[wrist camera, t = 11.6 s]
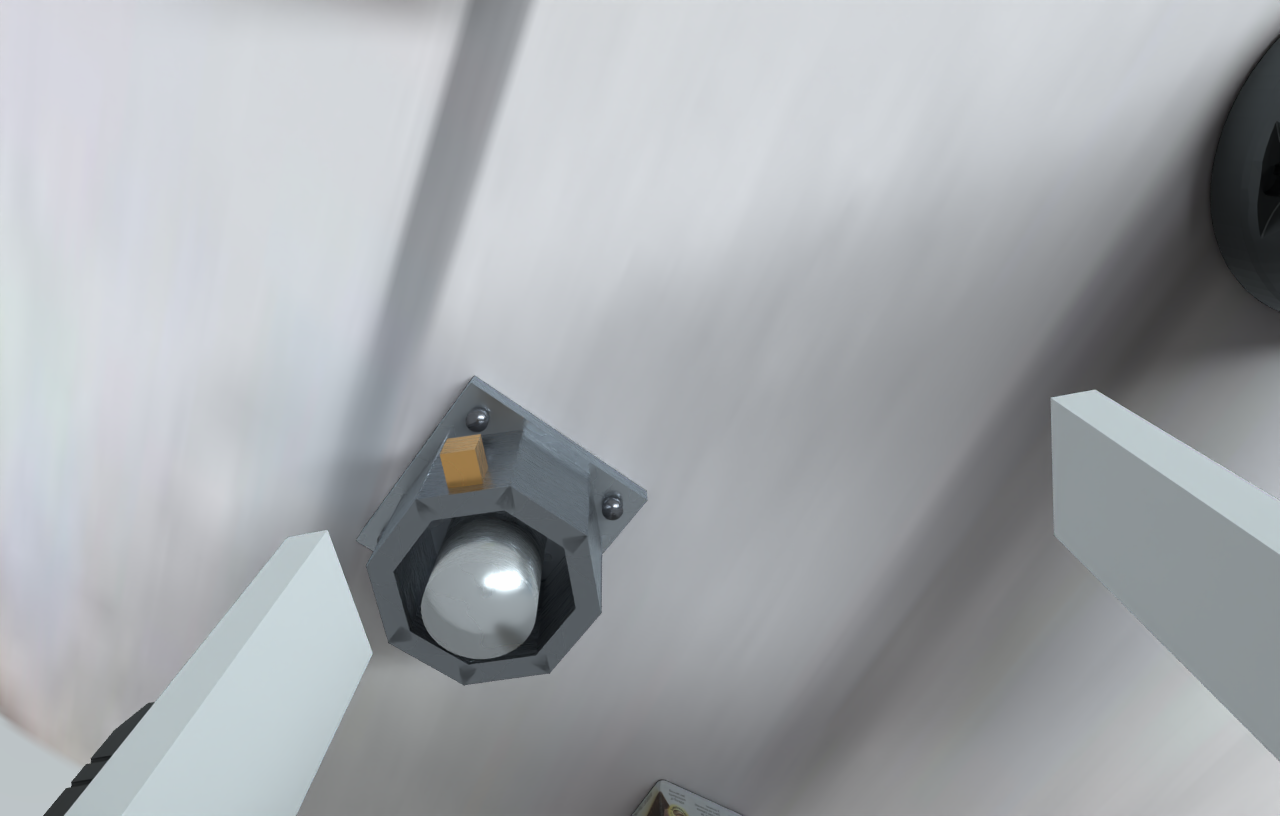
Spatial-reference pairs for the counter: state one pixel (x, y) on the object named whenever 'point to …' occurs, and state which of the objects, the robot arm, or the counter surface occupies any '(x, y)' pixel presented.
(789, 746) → the counter surface
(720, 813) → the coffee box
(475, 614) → the bolted post base
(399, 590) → the collar
